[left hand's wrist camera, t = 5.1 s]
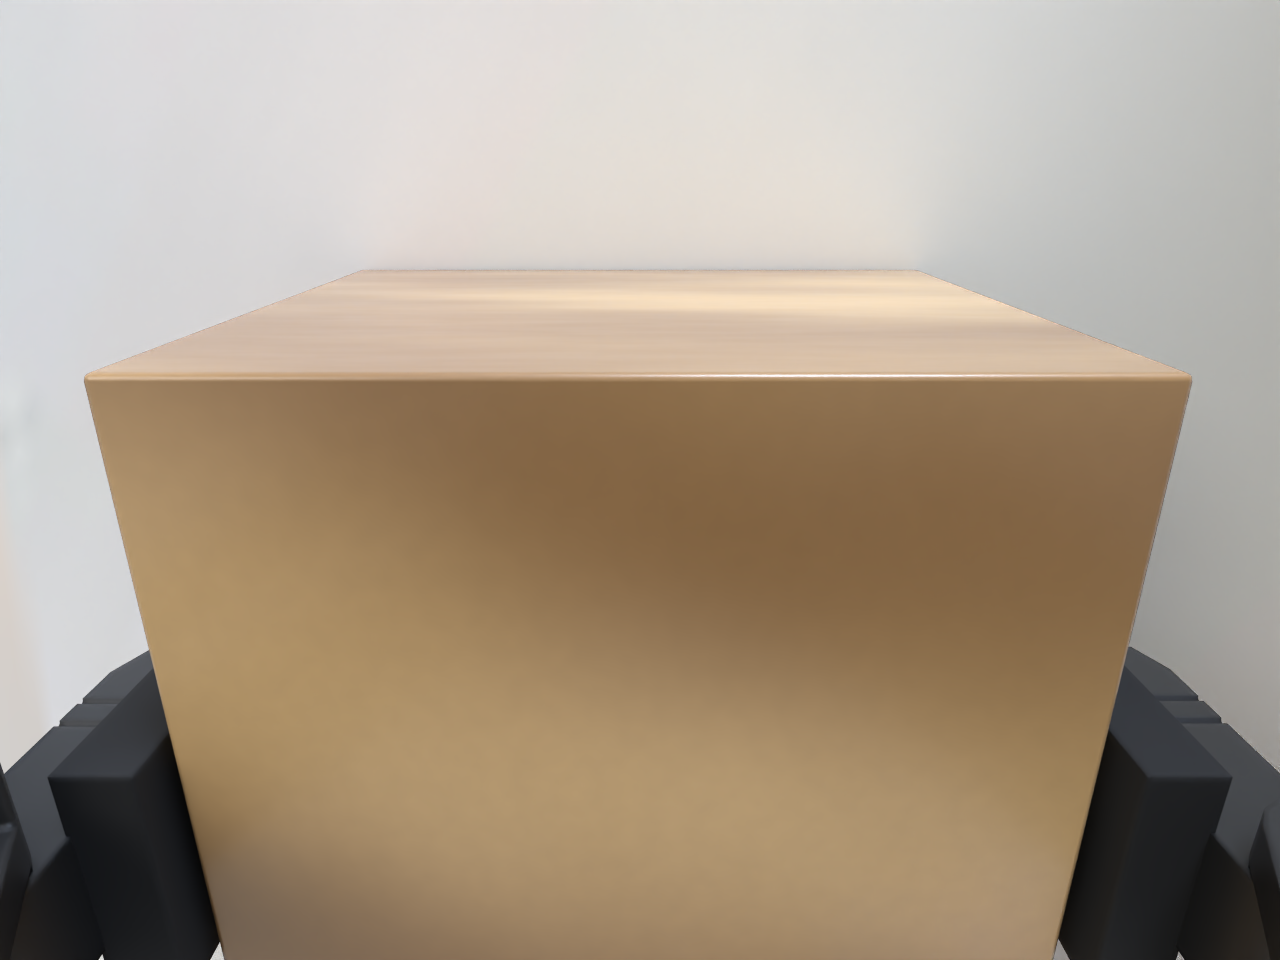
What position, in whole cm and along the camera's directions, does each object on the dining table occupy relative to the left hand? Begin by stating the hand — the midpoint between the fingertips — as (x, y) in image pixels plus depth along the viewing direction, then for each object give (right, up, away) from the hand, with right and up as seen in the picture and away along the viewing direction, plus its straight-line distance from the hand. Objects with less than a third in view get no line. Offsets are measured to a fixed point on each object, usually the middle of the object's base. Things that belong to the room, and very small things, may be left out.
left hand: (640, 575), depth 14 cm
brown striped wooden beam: (0, -23, +9) cm, 25 cm away
